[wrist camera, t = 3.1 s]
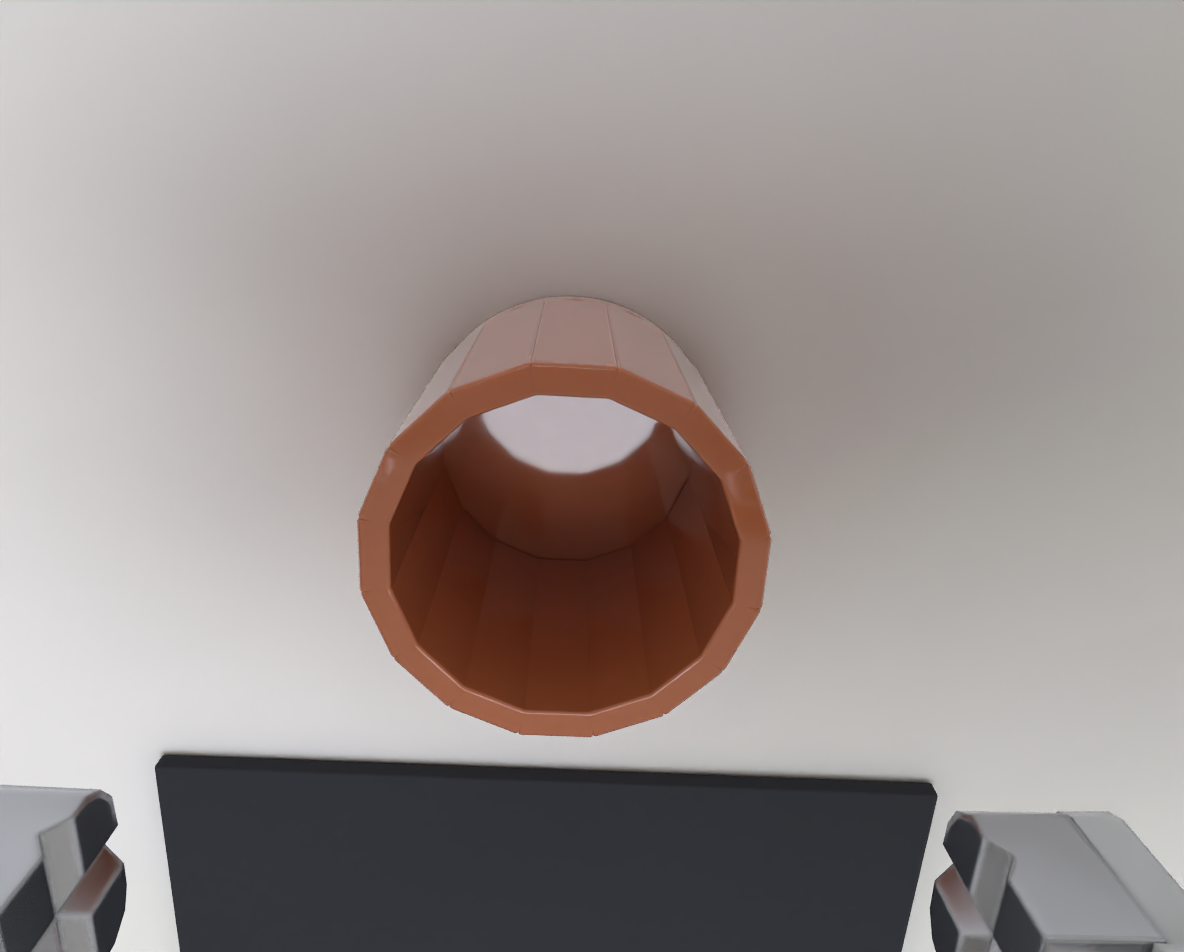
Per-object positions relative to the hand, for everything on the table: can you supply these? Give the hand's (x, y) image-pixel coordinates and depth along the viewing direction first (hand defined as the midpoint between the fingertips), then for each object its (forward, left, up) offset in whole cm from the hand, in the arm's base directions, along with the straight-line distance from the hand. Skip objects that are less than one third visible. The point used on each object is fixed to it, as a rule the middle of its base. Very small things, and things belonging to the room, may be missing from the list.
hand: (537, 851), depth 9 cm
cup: (0, 0, -12) cm, 12 cm away
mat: (+19, 0, -12) cm, 22 cm away
